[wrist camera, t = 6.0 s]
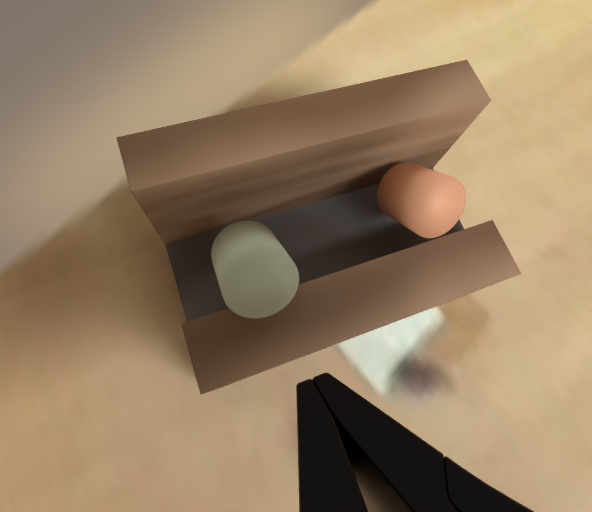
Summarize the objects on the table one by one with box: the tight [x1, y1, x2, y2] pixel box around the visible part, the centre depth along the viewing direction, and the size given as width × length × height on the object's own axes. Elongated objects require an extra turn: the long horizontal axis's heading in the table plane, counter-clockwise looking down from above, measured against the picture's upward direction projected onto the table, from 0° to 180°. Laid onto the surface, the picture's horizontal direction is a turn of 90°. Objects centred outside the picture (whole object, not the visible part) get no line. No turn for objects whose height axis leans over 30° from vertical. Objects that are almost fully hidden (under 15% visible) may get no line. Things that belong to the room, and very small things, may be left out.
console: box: [117, 60, 521, 394], centre depth 19 cm, size 10×16×9 cm, turn 110°
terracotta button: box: [377, 162, 466, 238], centre depth 18 cm, size 4×3×4 cm
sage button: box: [211, 221, 299, 319], centre depth 15 cm, size 4×3×4 cm
